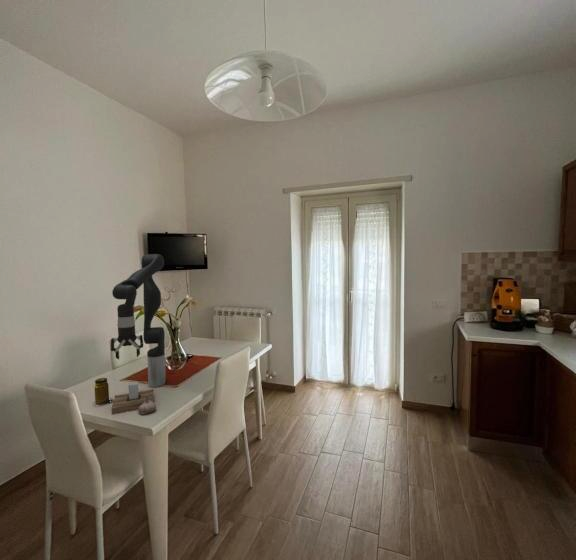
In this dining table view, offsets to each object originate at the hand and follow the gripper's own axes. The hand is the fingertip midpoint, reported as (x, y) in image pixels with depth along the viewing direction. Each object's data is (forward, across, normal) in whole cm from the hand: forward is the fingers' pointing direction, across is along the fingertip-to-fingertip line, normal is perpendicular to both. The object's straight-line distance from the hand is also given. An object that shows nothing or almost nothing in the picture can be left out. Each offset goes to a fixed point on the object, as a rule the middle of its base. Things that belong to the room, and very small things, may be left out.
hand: (128, 357), depth 154 cm
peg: (+23, -2, +2) cm, 23 cm away
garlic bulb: (+24, -8, +14) cm, 28 cm away
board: (+24, -2, +2) cm, 24 cm away
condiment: (+24, +12, -8) cm, 28 cm away
